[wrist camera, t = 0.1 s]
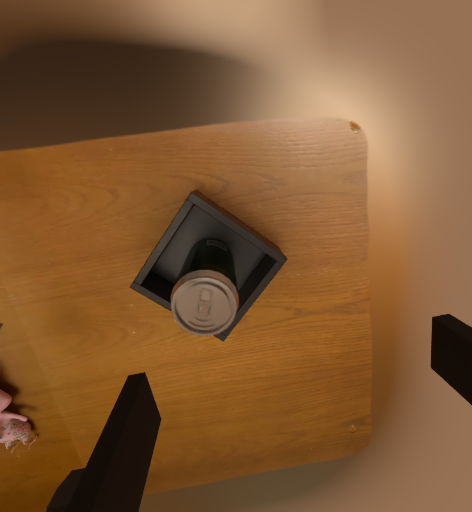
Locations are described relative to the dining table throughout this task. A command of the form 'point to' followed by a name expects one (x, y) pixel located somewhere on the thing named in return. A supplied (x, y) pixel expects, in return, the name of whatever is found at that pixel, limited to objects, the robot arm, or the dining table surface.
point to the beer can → (206, 290)
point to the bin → (218, 228)
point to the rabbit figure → (13, 425)
